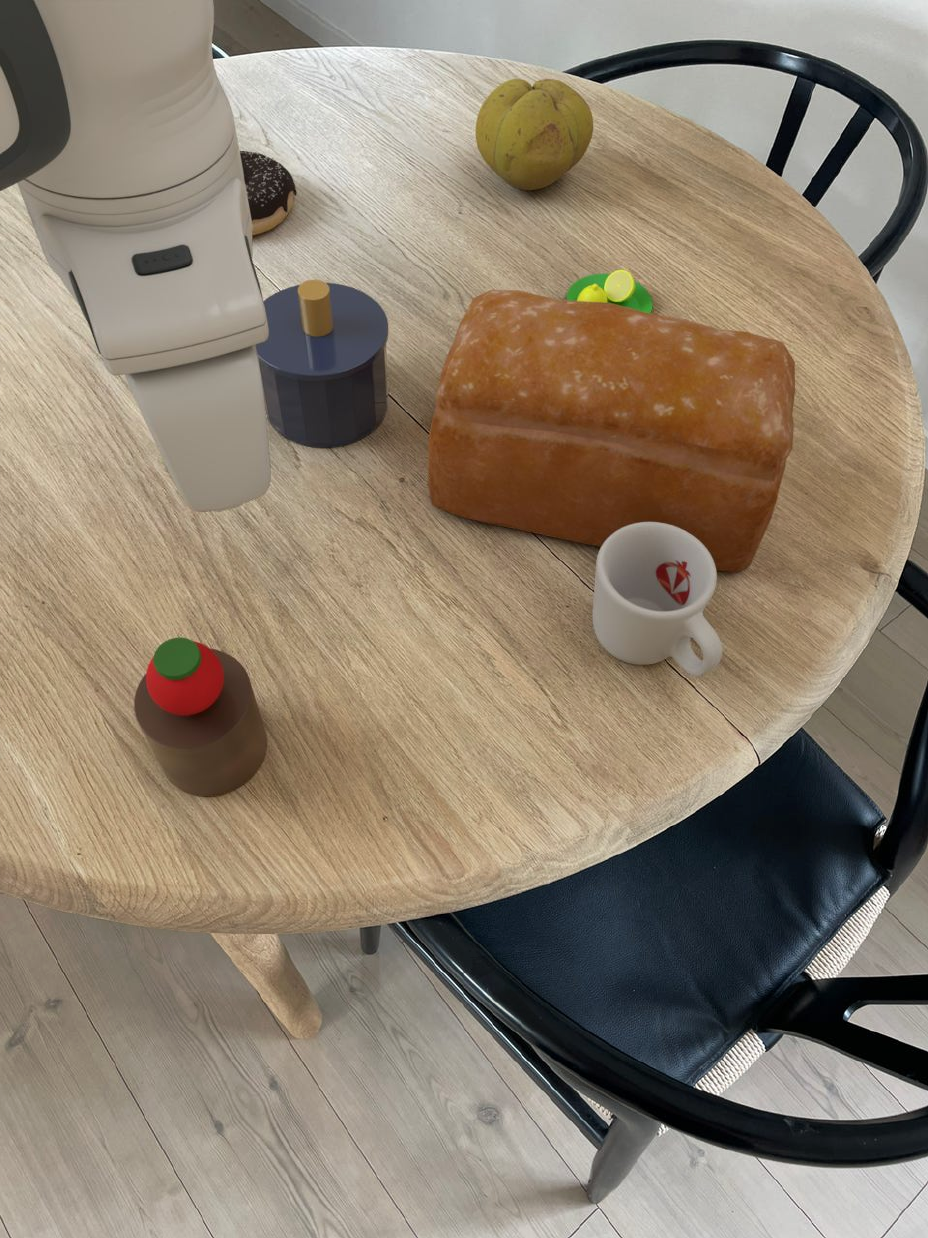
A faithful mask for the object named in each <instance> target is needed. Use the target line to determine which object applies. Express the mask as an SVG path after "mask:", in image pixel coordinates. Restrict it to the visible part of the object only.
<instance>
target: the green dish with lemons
mask: <svg viewBox="0 0 928 1238" xmlns="http://www.w3.org/2000/svg"><path fill="white" fill-rule="evenodd" d="M566 300H571V301H584V302H605V303H612V304H616V305H620V306H623V307H627V308H631V309H635V310H638V311H642V312H646V313H650V314H652V310H653V300H652V296H651V295H650V293H649V292H648V290H647V289H646V288H645V287H644V286H643V285H642V284H640V283H639V282H637V281H636V280H635V278H634V277H633V275H632V274H631V273H630V272H629V271H627V270H626V269H617V270H615V271H613V272H611V273H595V274H590V275H586V276H583V277H581V278H580V279H578V280H576V281H575V282H574V283H573V284H572V285H571V286H570V287H569V289H568V291H567V293H566Z"/></svg>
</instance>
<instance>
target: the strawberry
mask: <svg viewBox="0 0 928 1238" xmlns="http://www.w3.org/2000/svg"><path fill="white" fill-rule="evenodd" d="M211 649H212V648H211ZM211 649H210V647H208V646H207V645H205V644H203V643H200V642H198V641H195V640H191V639H190V638H187V637H173V638H170V639H167V640H165V641H164V642H162V643H161V644H160V645H159V646H158V647H157V648H156V650H155V651H154V654H153V656H152V658H151V660H150V661H149V663H148V666H147V667H146V668H147V669H146V673H145V674H146V685H147V689H148V692H149V694H150V696H151V698H152V699H153V701H154V702H155V703H156V704H157V705H158V706H159V707H160V708H162V709H163V710H165V711H167V712H169V713H172V714H176V715H193V714H197V713H200V712H202V711H204V710H206V709H207V708H209V707H210V706H211V705H212V704H213V703H214V702H215V701H216V699H217V698H218V696H219V695H220V693H221V690H222V687H223V683H224V672H223V667H222V664H221V662H220V660H219V658H218V657H217V655H216V654H215V653H214V652H213V651H212V650H211Z"/></svg>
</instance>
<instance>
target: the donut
mask: <svg viewBox="0 0 928 1238" xmlns="http://www.w3.org/2000/svg"><path fill="white" fill-rule="evenodd" d="M239 150H240V156H241V162H242V168H243V173H244V180H245V186H246V192H247V197H248V203H249V208H250V214H251V219H252V237H253V236H256V235H259V234H262V233H265V232H269V231H271V230H273V229H274V228H275V227H276V226H278V225H279V224H281V223H282V222H284V221H285V220H286V218H287V216H288V214H289V213H290V211H291V210H292V207H293V205H294V202H295V197H296V196H297V194H298V192H297V187H296V183H295V181H294V178H293V176H292V174H291V173H290V171H289V170H288V169H287V168H286V167H285V166H284V164H282V163H280V162H278V161H277V160H275V159H274V157H273V158H271V157H269V156H268V155H265V154H263V153H260V152H257V151H253V150H252V151H248V150H241V149H239Z"/></svg>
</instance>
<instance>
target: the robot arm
mask: <svg viewBox="0 0 928 1238" xmlns="http://www.w3.org/2000/svg"><path fill="white" fill-rule="evenodd" d="M214 25H215V5H214V0H0V192H2V191H4V190H6V189H8V188H10V187H13V186H14V185H16V184H17V187H18V189H19V192H20V194H21V198H22V200H23V202H24V205H25V208H26V210H27V213H28V216H29V219H30V222H31V225H32V227H33V229H34V232H35V235H36V237H37V240H38V242H39V245H40V248H41V250H42V253H43V255H44V258H45V260H46V262H47V264H48V266H49V267H50V269H51V270H52V271H53V273H55V275H56V276H57V277H58V278H60V280H61V282H62V284H63V285H64V287H65V288H66V290H67V292H69V294H70V295H71V297H72V298H73V299H74V301H75V302H76V303H77V305H78V306H79V308H80V310H81V313H82V314H83V317H84V318H85V321H86V322H87V325H88V327H89V329H90V333H91V335H92V339H93V341H94V342H95V343H94V344H95V346H96V349H97V351H98V354H99V355H100V356H101V358H102V361H103V364H104V366H105V369H106V370H107V372H108V373H109V374H110V375H112V376H114V377H115V376H124V377H125V381H126V382H127V385H128V387H129V389H130V391H131V394H132V395H133V398H134V400H135V402H136V405H137V407H138V409H139V411H140V413H141V416H142V417H143V420H144V422H145V424H146V426H147V428H148V430H149V433H150V434H151V437H152V439H153V441H154V443H155V446H156V447H157V449H158V451H159V453H160V456H161V458H162V460H163V462H164V465H165V466H166V468H167V470H168V473H169V475H170V476H171V479H172V481H173V483H174V484H175V487H176V489H177V490H178V492H179V495H180V496H181V498H182V500H184V502H185V504H186V505H187V506H188V507H189V508H190V509H191V510H193V511H195V512H199V513H209V512H216V513H221V512H224V511H228V510H233V509H236V508H239V507H241V506H242V505H243V504H246V503H249V502H252V501H254V500H257V499H259V498H261V497H263V496H265V494H266V493H267V491H268V489H269V488H270V486H271V481H272V470H271V469H272V468H271V455H270V443H269V432H268V423H267V414H266V410H265V403H264V394H263V386H262V378H261V373H260V367H259V361H258V355H257V350H256V346H255V345H256V344H259V343H262V342H265V341H266V340H267V339H268V335H269V329H268V322H267V317H266V312H265V307H264V302H263V301H264V297H263V293H262V289H261V283H260V280H259V278H258V273H257V271H256V268H255V264H254V260H253V253H254V252H253V251H254V249H253V248H254V247H253V236H252V219H251V214H250V208H249V203H248V197H247V192H246V186H245V180H244V173H243V168H242V162H241V156H240V150H241V149H240V145H239V139H238V134H237V130H236V129H237V128H236V123H235V117H234V116H235V115H234V113H233V109H232V106H231V104H230V103H231V102H230V100H229V98H228V96H227V93H226V91H225V90H224V87H223V86H222V83H221V82H220V79H219V76H218V74H217V71H216V67H215V63H214V58H213V57H214V56H213V34H214Z"/></svg>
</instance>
